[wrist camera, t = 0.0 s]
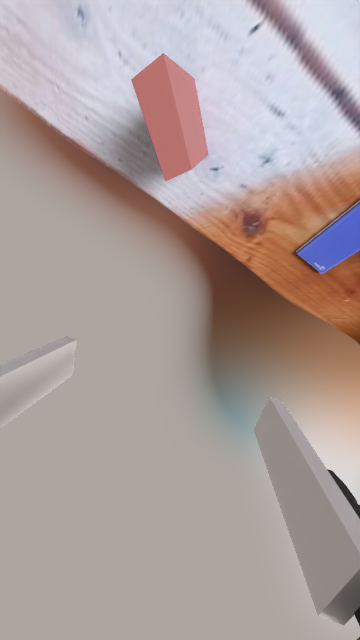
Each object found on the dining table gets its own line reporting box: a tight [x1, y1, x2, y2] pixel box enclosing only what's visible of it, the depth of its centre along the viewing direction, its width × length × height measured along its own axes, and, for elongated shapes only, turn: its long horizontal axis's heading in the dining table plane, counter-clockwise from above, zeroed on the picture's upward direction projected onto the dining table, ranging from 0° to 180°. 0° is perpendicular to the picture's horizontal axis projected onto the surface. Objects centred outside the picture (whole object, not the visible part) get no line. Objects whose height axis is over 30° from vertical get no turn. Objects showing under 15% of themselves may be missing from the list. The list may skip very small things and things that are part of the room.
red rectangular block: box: [131, 53, 208, 181], centre depth 23 cm, size 8×4×14 cm, turn 21°
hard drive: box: [296, 200, 360, 274], centre depth 33 cm, size 2×8×12 cm
